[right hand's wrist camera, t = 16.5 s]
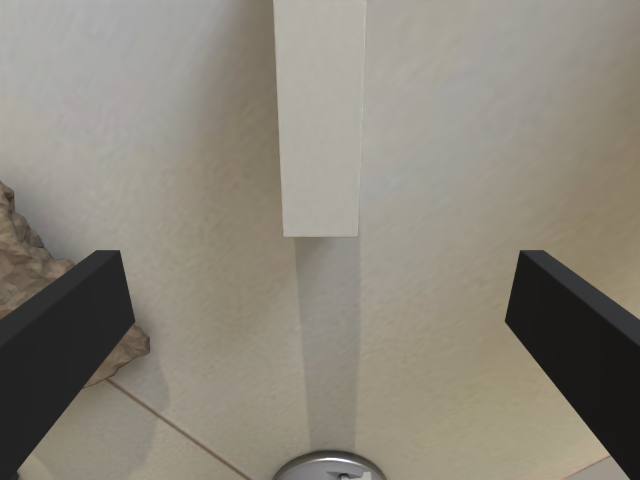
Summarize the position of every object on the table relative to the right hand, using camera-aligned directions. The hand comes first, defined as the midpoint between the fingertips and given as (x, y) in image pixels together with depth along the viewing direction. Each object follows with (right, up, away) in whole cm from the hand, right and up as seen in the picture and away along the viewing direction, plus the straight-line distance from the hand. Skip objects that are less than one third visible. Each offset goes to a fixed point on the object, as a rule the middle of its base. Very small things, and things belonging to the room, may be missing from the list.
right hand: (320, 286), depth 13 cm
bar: (0, +15, +17) cm, 23 cm away
